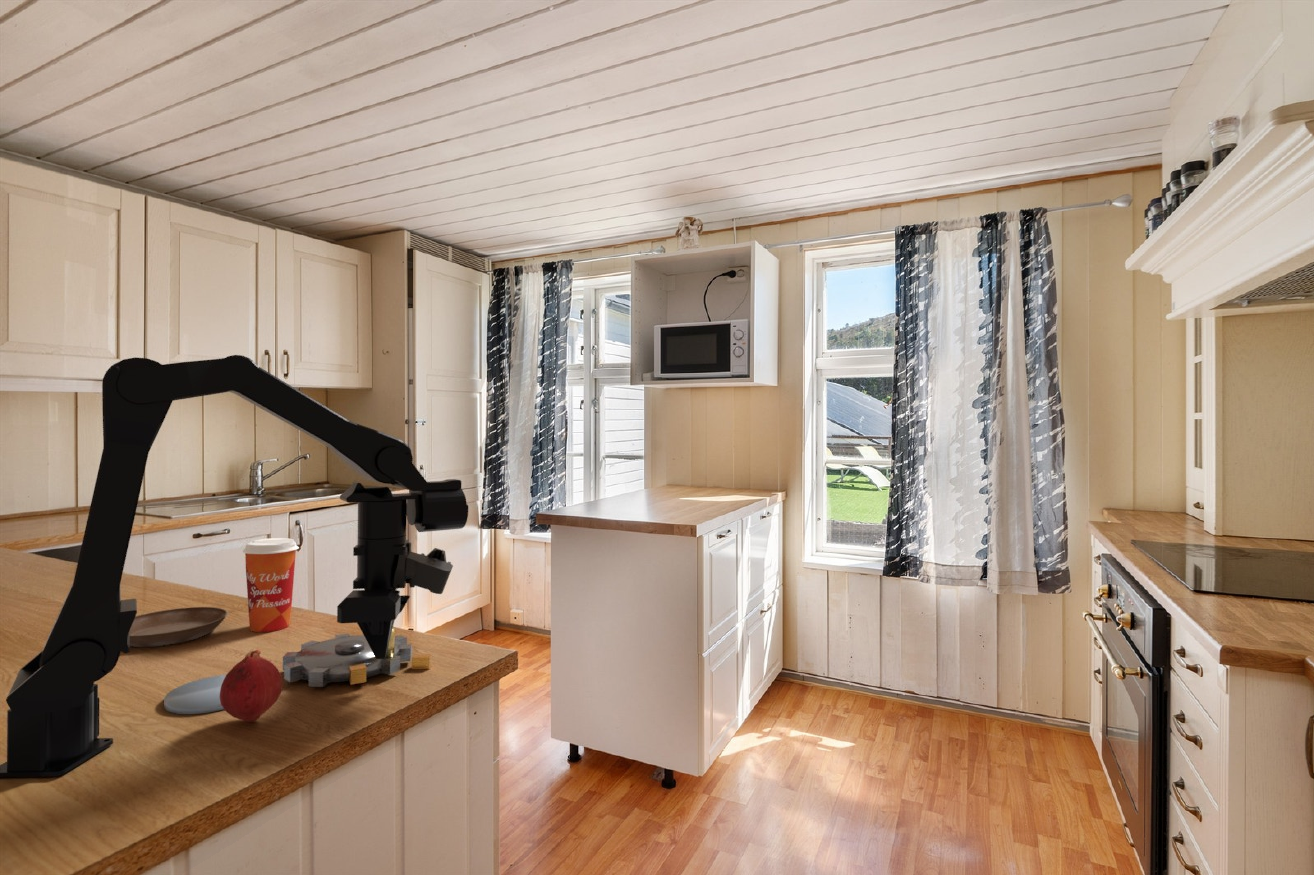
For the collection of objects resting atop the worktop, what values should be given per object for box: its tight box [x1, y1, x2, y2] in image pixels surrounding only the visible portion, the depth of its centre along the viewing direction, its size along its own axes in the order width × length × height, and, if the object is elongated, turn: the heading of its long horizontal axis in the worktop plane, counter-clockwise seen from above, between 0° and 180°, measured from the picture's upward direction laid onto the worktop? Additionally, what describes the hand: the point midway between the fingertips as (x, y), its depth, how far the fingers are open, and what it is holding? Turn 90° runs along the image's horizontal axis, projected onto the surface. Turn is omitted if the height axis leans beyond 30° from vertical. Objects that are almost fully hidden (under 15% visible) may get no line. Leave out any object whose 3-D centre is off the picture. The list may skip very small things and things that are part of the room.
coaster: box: [163, 673, 227, 715], centre depth 77 cm, size 10×10×1 cm
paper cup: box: [242, 537, 300, 633], centre depth 104 cm, size 8×8×14 cm
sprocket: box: [282, 626, 413, 688], centre depth 87 cm, size 16×16×5 cm
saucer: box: [129, 606, 229, 648], centre depth 99 cm, size 15×15×3 cm
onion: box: [220, 648, 283, 723], centre depth 71 cm, size 6×6×8 cm
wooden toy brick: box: [411, 653, 433, 670], centre depth 87 cm, size 8×15×2 cm, turn 93°
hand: (380, 657), depth 81 cm, fingers closed
